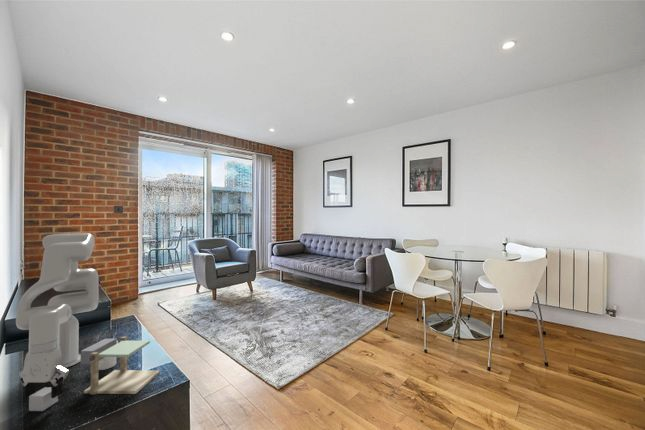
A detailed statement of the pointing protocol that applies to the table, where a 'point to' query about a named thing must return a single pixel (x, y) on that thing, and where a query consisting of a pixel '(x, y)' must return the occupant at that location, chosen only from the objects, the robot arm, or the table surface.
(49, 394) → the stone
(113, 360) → the white cup
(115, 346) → the trapdoor
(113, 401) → the table surface
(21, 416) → the table surface
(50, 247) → the robot arm
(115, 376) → the frame
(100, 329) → the table surface
